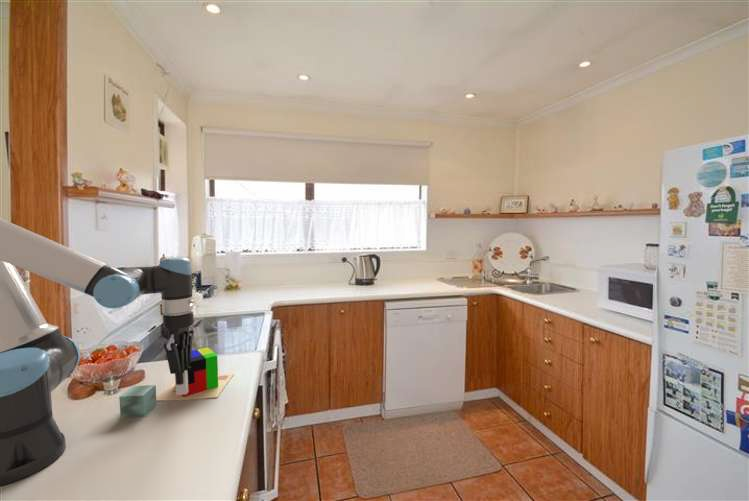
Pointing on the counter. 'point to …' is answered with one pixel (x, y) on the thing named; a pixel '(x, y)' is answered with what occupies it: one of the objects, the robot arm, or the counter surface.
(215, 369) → the puzzle toy
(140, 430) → the counter surface
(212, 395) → the letter card
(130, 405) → the teal block
